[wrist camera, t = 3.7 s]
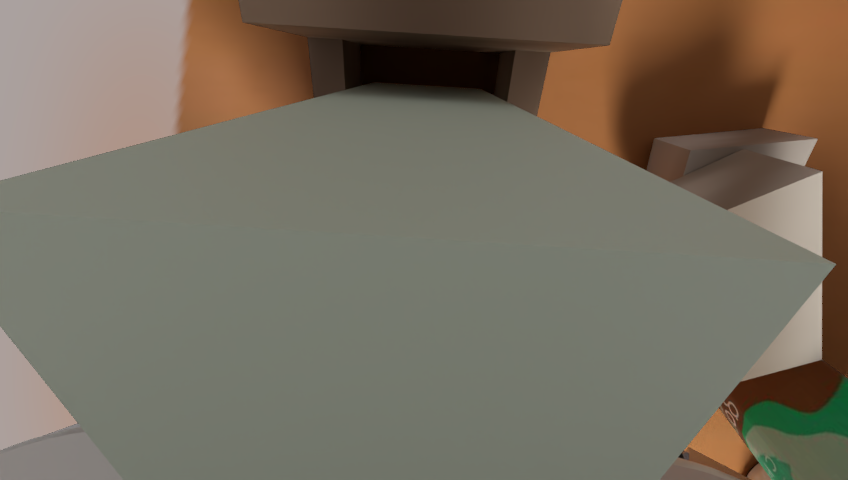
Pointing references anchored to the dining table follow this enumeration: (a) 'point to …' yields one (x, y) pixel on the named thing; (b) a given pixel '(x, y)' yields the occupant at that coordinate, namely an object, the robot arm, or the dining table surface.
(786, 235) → the upper offcut
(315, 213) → the sheet
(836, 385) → the food container
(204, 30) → the dining table surface
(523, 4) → the rack
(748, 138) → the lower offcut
